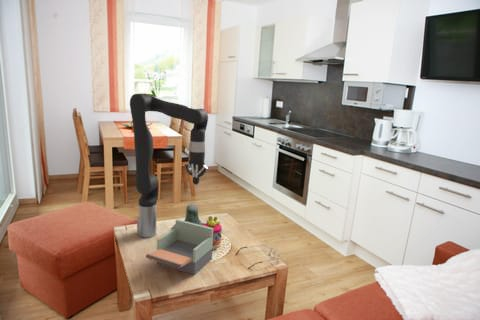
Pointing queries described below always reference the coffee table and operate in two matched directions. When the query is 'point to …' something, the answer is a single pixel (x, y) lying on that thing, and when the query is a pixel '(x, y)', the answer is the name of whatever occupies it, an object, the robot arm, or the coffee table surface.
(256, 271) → the coffee table surface
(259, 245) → the eyeglasses
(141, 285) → the coffee table surface
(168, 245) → the truck bed
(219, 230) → the cake
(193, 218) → the tree stump
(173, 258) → the panel
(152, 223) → the robot arm
